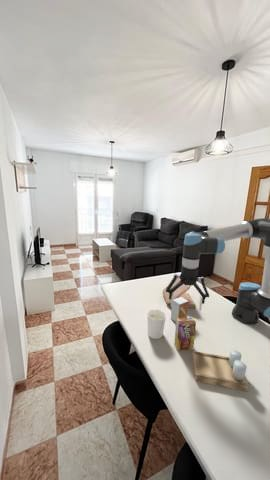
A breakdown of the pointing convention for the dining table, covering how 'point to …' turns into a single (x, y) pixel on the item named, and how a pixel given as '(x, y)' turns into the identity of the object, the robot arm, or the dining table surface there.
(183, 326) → the candy box
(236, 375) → the smooth rounded lump
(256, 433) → the dining table surface
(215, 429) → the dining table surface
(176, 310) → the small box
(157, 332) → the white cream cup
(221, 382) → the tan tray
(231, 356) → the white egg
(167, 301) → the case
